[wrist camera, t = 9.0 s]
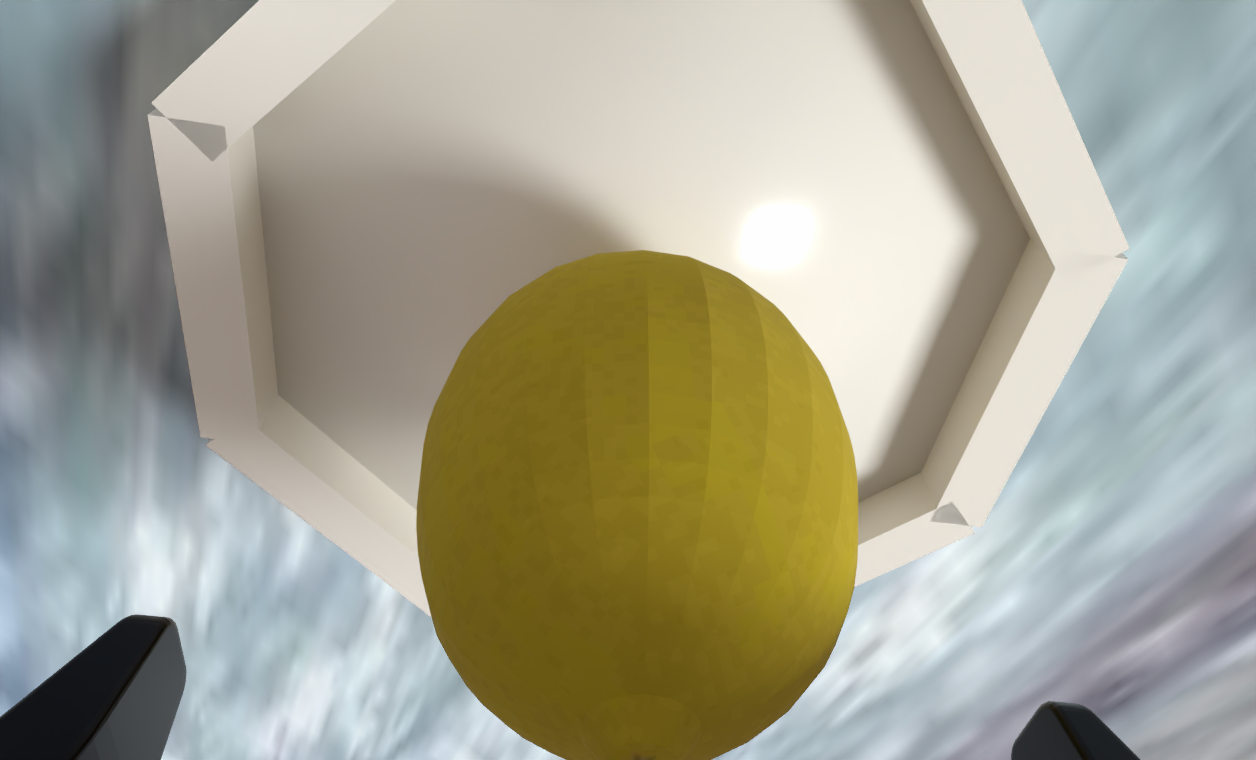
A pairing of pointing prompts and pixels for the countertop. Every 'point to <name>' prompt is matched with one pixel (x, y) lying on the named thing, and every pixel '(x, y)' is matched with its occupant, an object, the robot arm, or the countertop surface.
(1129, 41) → the countertop surface
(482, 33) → the dish
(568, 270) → the lemon
